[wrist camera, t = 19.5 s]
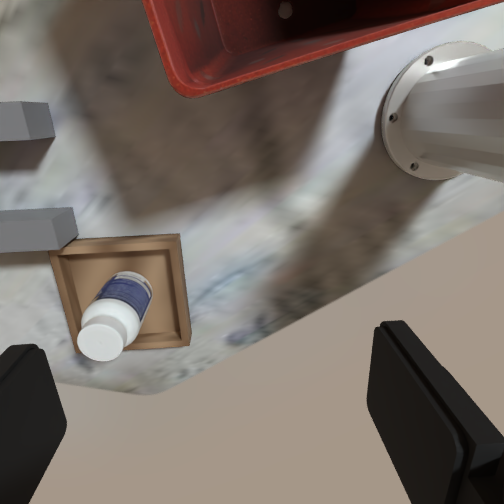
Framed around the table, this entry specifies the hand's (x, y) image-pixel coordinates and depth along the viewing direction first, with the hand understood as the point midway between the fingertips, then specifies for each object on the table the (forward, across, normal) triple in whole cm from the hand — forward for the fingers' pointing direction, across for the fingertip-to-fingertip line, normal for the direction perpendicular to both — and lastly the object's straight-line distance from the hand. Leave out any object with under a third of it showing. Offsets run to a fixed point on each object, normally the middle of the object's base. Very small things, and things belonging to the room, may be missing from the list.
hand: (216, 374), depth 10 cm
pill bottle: (+28, +12, +11) cm, 32 cm away
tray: (+28, +12, +12) cm, 33 cm away
